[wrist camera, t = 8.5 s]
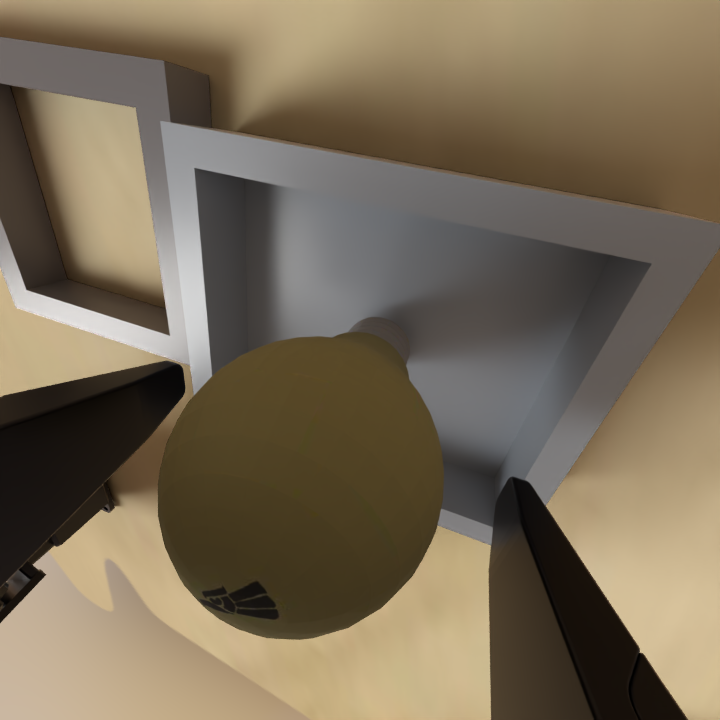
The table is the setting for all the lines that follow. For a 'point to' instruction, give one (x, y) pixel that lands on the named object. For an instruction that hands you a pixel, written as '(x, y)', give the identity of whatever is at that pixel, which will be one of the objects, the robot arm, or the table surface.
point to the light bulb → (303, 483)
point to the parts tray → (433, 290)
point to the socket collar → (26, 204)
